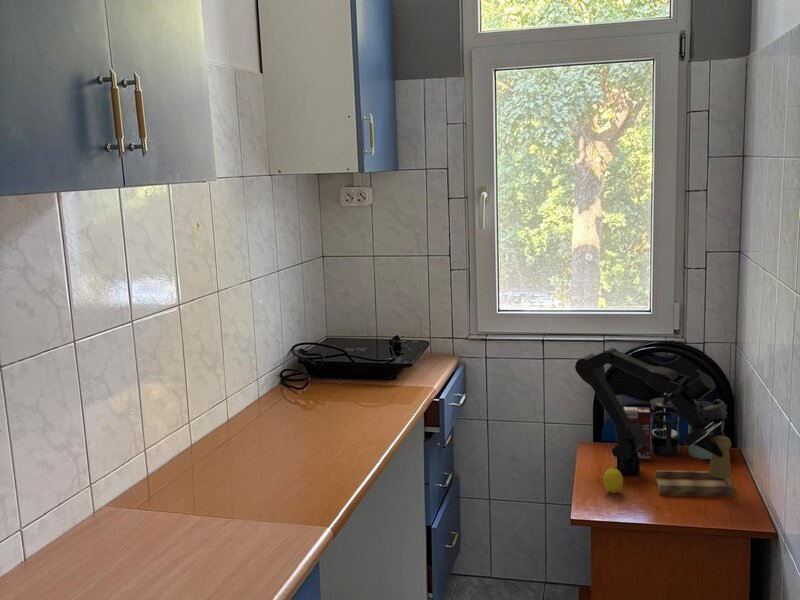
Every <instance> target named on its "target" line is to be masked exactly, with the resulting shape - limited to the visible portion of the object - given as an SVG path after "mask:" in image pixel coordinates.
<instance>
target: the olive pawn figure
mask: <svg viewBox="0 0 800 600" xmlns="http://www.w3.org/2000/svg"><path fill="white" fill-rule="evenodd" d="M713 440H714V441H715V443H716V444H717V446H718V447H719V449H720V450H721V452H722V453H723V456H722V457H718V456H717V455H715V454H713V453H712V457H711V459H710V462H709V463H710V464H709V467H708V471H709V472H708V473H709V475H711V476H712V477H715V478H721V479H725V478H731V477H732V468H731V467H732V466H731V459H730V457H731V456H730V450H731V449H730V448H731V447H732V442H731V439H730V438H729V437H728V436H726V435H725V436H715V437H713ZM729 449H730V450H729Z"/></svg>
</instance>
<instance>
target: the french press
mask: <svg viewBox="0 0 800 600" xmlns="http://www.w3.org/2000/svg"><path fill="white" fill-rule="evenodd" d="M665 394H666V393H663V395H665ZM663 400H664V397H656V398H653V399H651V400H650V401H649V402H650V404H651V409H652V411H654V412H651V433H650V454H652V455H653V456H656V457H662V458H670V457H671V458H672V457H676V456H678V455H680V452H681V451H680V416H679V415H678V414H677V413H674V412H669V411H666V409H668V408H671V409H673V410H675V411H677V409H676V408H675V407H674V406H673V404H672V403H671V402H668V403H667V404H665V405H664V404H663ZM677 412H678V411H677ZM666 417H671V418H674V420H669V421H667V420H666ZM654 418H655V419H654ZM653 424H655V428H653ZM674 425H676V430H675V429H672V426H674Z"/></svg>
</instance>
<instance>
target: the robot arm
mask: <svg viewBox="0 0 800 600" xmlns="http://www.w3.org/2000/svg"><path fill="white" fill-rule="evenodd" d="M605 365H611V366H613V367H615V368H617V369H620V370H622V371H624V372H627V373H628V374H631V375H633V376H635V377H637V378H639V379H642V380H643V381H645V383H647V385H648V386H649V387H650V388H652V389H654V390H655V391H656V392H658V393H661V394H663V398H664V400H663V404H664V405H665V404H667V403H668V402H671V403H672V404H673V406H674V407H675V408H676V409H677V412H678V413H679V414H680V416H681V417H679V420H680V421H682V422H684V421H685V422H686V423H687V425H688V424H689V425H690V427H691V428H692V429H691V430H690V431H691V432H690V433H688V432H687V434H685V436H683V438H682V443H683V444H684V445H685V446H686V447H687V448H689V446H690V445H691V444H693V443H694V442H696V443H695V444H693V445H694V446H695V445H696V446H698V447H701V448H703V449H705V450H707V451H709V452H711V453H713V454H715V455H717V456H718V457H722V456H723V453H722V452H721V450H720V449H719V447H718V446H717V444H716V443H715V441H714V440H713V437H715V436H725V437H726V435H725V431H724V426H725V423H726V421H725V420H726V419H728V415H729V414H728V411H727V409H726V408H728V405H727V404H725V402H724V401H723V400H722V399H721V398H718V399H715V400H713V402H712V404H711V405H708V406H706V405H705V404H704V403H700V404H699V403H698V401H699V400H701V399H703V398H704V397H706V396H707V395H708V394H710V393H711V392H712V391H714V390H715V389H716V383H715V381H714V378H712V376H710V375H708V374H707V373H705V372H702V370H701V369H697V370H696V371H694V372H693V373H692V374H691V375H690V376H686V375H684V374H683V375H682V374H679V373H678V372H677V371H676V370H674V369H671V368H669V367H664V366H656V365H651V364H649V363H646V362H645V361H642V360H639V359H638V358H635V357H633V356H630V355H628V354H627V353H624V352H621V351H619V350H618V349H616V348H613V347H610V348H608V349H606V350H603V351H602V352H600V353H598V354H593V353H590V354H588V355H585V356H583V357H581V358H579V359H577V361H576V362H575V366H574V369H575V372H576V373H577V375H578V376H579V377H580V378H581V380H582V381H584V382H585V383H587V384H588V385H589V386H591V388H592V390H593V391H594V393H595V395H596V397H597V399H598V400H599V402H600V403H601V405H602V407H603V409H604V410H605V412H606V414H607V416H608V417H609V418H610V421H611V422H612V424H613V425H614V429H615V438H616V440H617V442H618V444H616V445H615V446H614V447H612V449H611V453H612V455H613V457H615V467H614V468H615V469H617V470H619V471H620V472H621V474H622V477H639V473H640V472H641V471H640V470H641V463H640V462H641V460H640V459H641V458H639V456H638V454H637V452H638V451H639V450H640V449H641V447H642V446H644V445H645V443H646V436H645V434H646V432H645V431H644V430H643V429H642V427H641V425H640V423H639V422H637V423H633V422H632V421H631V420H630V419H629V418H628V416H627V415H626V413H625V411H624V410H623V406H622V404H621V403H620V401H619V399H618V398H617V396H616V394H615V392H614V391H613V389H612V388H611V386H610V384H609V382H608V381H607V379H606V370H605V367H604V366H605ZM681 387H682V389H680V388H681ZM670 391H672V392H671V393H669V392H670ZM664 393H665V395H664ZM696 400H698V401H696ZM721 421H722V423H721V424H720V422H721ZM730 450H731V447H730V449H729V451H730Z"/></svg>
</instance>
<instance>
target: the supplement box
mask: <svg viewBox="0 0 800 600" xmlns="http://www.w3.org/2000/svg"><path fill="white" fill-rule="evenodd" d="M622 408H623V410H624V411H625V413H626V415H627V416H628V418H629V419H630V420H631V421H632V422H633V423H637V422H639V423H640V425H641V427H642V429H643V430H644V431H645V432H646V434H645V436H646V443H645V445H644V446H642V447H641V449H640V450H639V451H638V452H637V454H638V456H639V459H648V458H649V459H651V453H650V433H651V414H652V412H651V407H639V406H637V407H636V406H622ZM649 459H648V460H649Z"/></svg>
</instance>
